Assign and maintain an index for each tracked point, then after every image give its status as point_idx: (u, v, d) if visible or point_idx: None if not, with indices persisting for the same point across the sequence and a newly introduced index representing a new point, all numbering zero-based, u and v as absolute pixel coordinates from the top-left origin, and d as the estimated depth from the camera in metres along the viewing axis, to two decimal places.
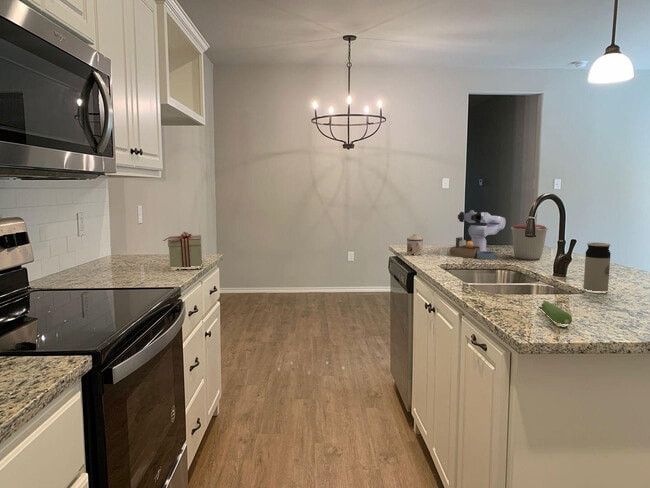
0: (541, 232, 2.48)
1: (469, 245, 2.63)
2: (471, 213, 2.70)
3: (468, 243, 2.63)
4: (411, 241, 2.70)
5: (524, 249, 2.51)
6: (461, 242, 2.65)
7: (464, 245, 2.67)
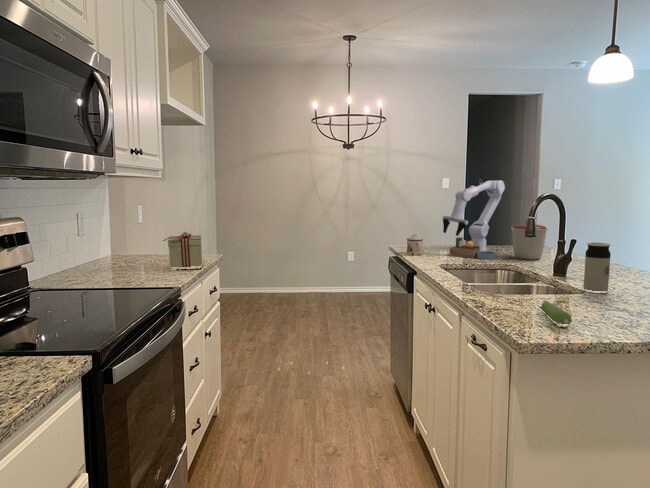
0: (541, 232, 2.48)
1: (469, 245, 2.63)
2: (453, 218, 2.68)
3: (468, 243, 2.63)
4: (411, 241, 2.70)
5: (524, 249, 2.51)
6: (461, 242, 2.65)
7: (464, 245, 2.67)
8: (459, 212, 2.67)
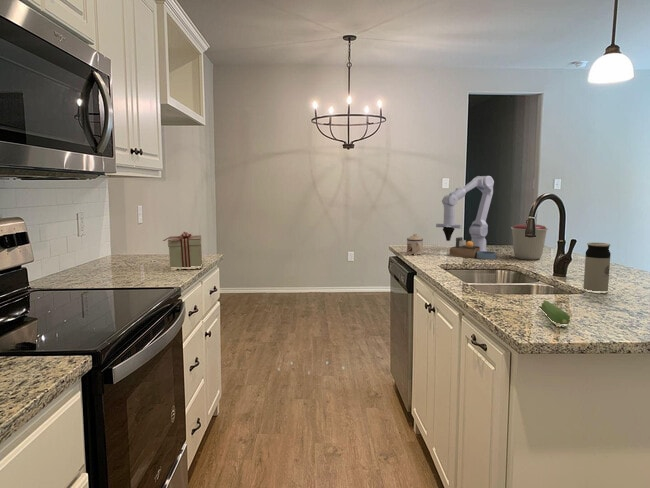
0: (541, 232, 2.48)
1: (469, 245, 2.63)
2: None
3: (468, 243, 2.63)
4: (411, 241, 2.70)
5: (524, 249, 2.51)
6: (461, 242, 2.65)
7: (464, 245, 2.67)
8: (450, 218, 2.68)
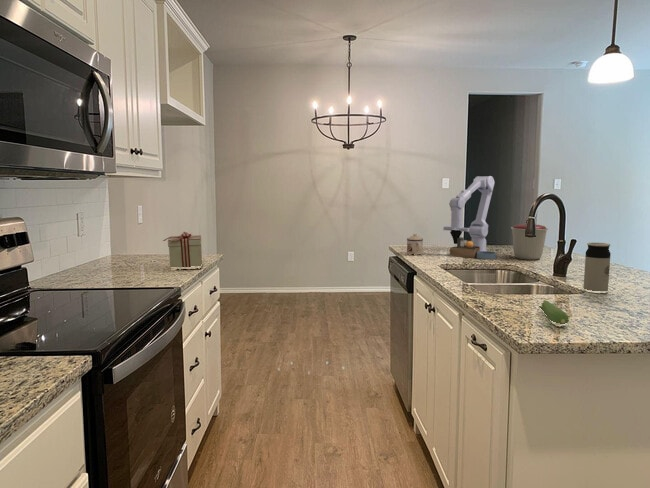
0: (541, 232, 2.48)
1: (469, 245, 2.63)
2: None
3: (468, 243, 2.63)
4: (411, 241, 2.70)
5: (524, 249, 2.51)
6: (462, 242, 2.65)
7: (465, 245, 2.66)
8: (458, 221, 2.65)
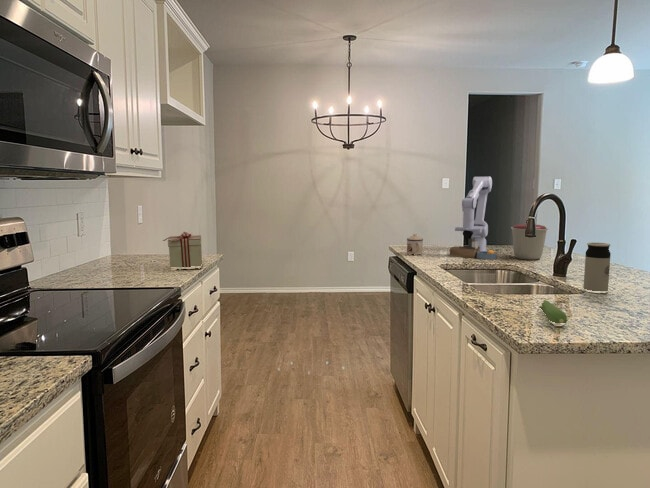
0: (541, 232, 2.48)
1: None
2: None
3: (490, 252, 2.56)
4: (411, 241, 2.70)
5: (524, 249, 2.51)
6: (474, 243, 2.61)
7: (477, 246, 2.62)
8: (470, 222, 2.61)
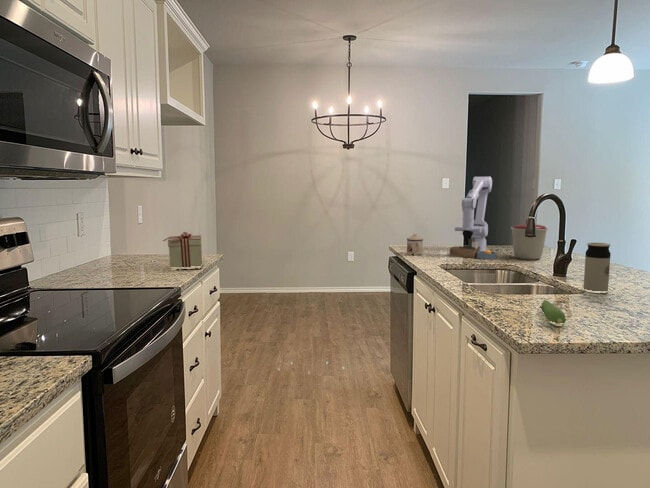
0: (541, 232, 2.48)
1: (487, 253, 2.57)
2: None
3: (485, 252, 2.58)
4: (411, 241, 2.70)
5: (524, 249, 2.51)
6: (474, 243, 2.61)
7: (477, 246, 2.62)
8: (470, 222, 2.61)
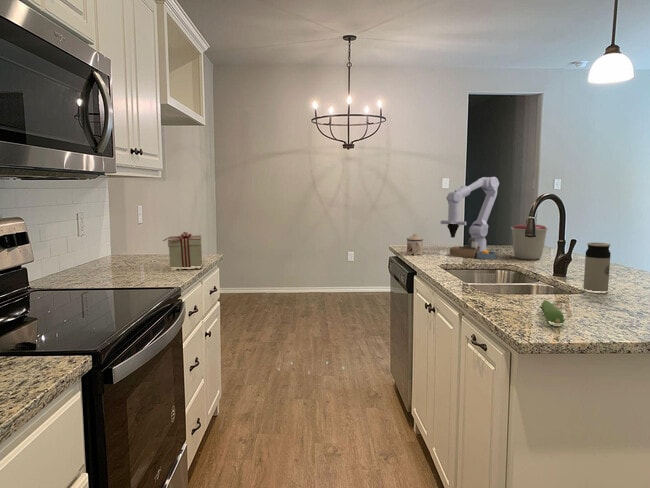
0: (541, 232, 2.48)
1: (484, 252, 2.58)
2: None
3: None
4: (411, 241, 2.70)
5: (524, 249, 2.51)
6: (473, 243, 2.61)
7: (476, 246, 2.62)
8: (455, 215, 2.69)
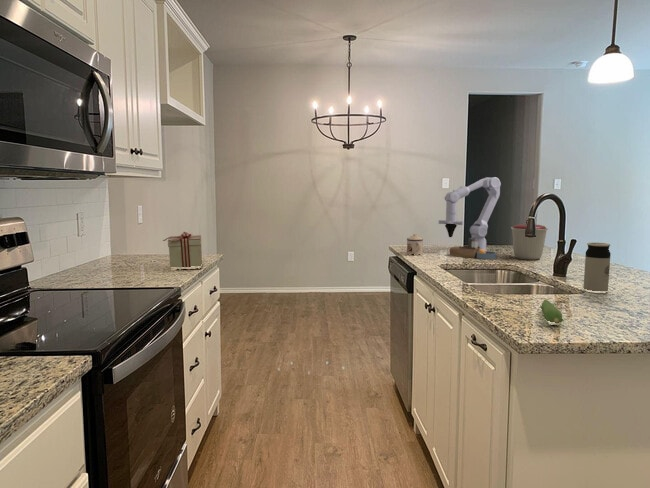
0: (541, 232, 2.48)
1: (480, 252, 2.59)
2: None
3: None
4: (411, 241, 2.70)
5: (524, 249, 2.51)
6: (473, 243, 2.61)
7: (476, 246, 2.62)
8: (452, 215, 2.72)
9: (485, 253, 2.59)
